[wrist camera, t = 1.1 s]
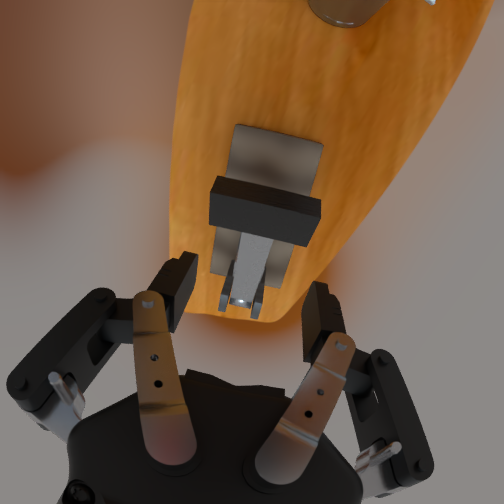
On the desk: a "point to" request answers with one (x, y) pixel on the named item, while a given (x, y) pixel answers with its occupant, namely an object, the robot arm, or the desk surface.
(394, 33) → the desk surface
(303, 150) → the base
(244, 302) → the lever
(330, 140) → the desk surface
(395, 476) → the robot arm
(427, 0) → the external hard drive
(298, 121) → the desk surface
